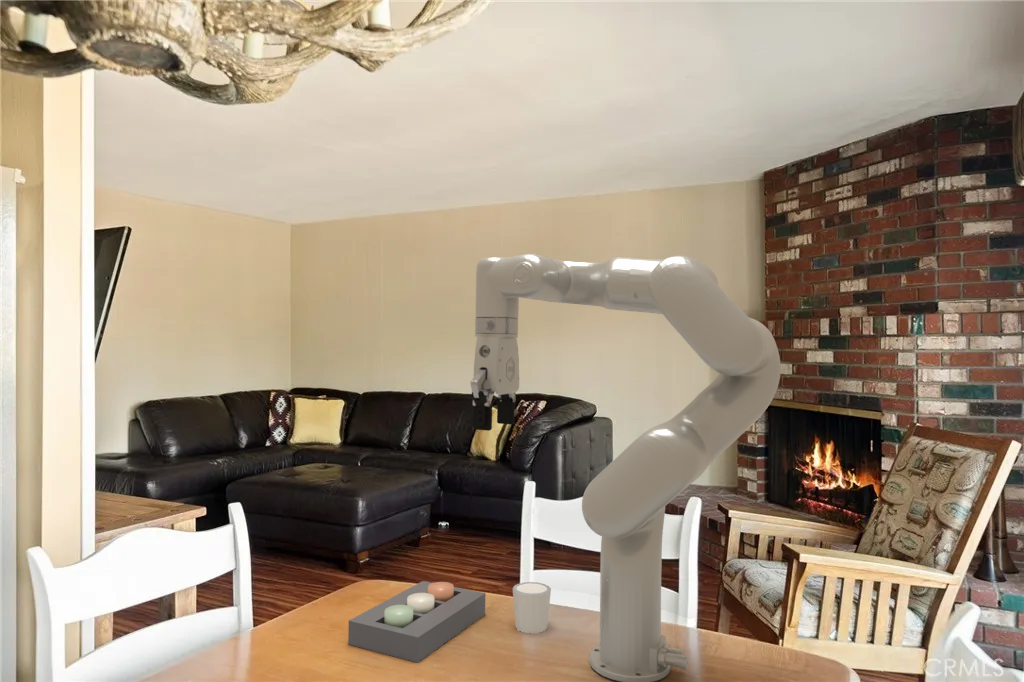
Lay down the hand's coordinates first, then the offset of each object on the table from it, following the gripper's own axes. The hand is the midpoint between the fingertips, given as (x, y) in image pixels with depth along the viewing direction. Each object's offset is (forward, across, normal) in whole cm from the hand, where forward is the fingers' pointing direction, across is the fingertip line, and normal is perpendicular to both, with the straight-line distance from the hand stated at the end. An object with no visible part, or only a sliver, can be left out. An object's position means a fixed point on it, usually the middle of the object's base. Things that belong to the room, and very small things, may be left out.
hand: (494, 426), depth 120 cm
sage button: (+35, -10, +12) cm, 38 cm away
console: (+36, -3, +12) cm, 38 cm away
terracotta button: (+35, +3, +12) cm, 37 cm away
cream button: (+35, -3, +12) cm, 37 cm away
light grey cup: (+36, +6, -6) cm, 37 cm away
